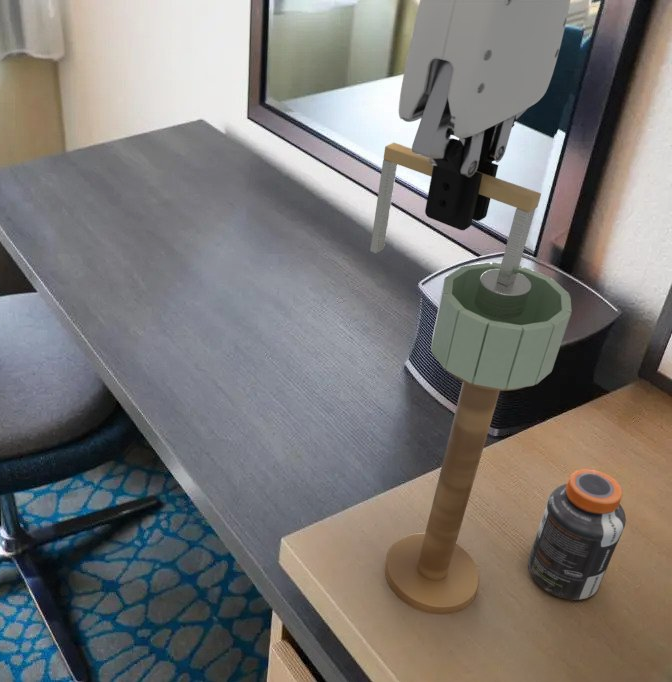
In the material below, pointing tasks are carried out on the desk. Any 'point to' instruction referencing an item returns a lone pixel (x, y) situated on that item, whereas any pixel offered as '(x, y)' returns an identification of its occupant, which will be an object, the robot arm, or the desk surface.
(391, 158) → the wood-topped metal bracket
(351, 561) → the desk surface
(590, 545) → the pill bottle
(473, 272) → the bowl
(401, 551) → the stand
